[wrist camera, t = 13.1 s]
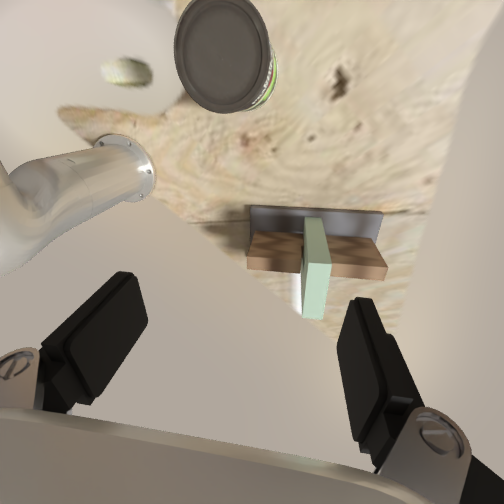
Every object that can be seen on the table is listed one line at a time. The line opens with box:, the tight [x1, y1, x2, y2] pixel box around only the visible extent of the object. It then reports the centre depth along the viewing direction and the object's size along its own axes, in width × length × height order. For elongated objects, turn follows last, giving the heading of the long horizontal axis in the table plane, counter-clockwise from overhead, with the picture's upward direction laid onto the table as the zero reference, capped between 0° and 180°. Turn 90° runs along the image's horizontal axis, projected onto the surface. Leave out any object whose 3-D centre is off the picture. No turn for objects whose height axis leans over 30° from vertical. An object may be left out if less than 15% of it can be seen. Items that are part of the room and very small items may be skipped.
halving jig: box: [247, 205, 388, 281], centre depth 45 cm, size 24×12×12 cm, turn 90°
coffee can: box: [174, 0, 278, 114], centre depth 32 cm, size 10×10×14 cm
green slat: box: [301, 217, 332, 320], centre depth 42 cm, size 3×10×16 cm, turn 1°
